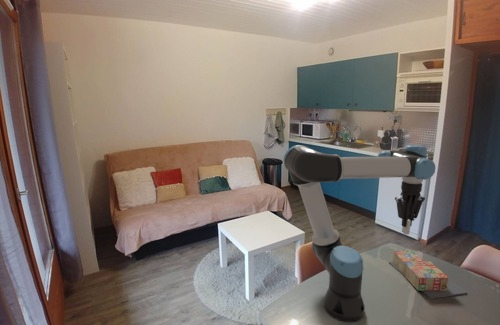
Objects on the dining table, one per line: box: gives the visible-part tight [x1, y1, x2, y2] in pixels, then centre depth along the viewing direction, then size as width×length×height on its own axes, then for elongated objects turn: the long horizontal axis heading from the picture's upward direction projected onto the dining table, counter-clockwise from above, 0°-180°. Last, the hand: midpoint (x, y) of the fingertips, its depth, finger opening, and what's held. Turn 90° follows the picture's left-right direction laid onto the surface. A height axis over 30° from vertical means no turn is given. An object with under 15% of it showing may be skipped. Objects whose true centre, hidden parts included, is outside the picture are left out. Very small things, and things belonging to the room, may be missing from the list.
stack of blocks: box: [392, 250, 450, 292], centre depth 124 cm, size 21×6×12 cm
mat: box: [388, 260, 468, 300], centre depth 124 cm, size 17×26×1 cm, turn 9°
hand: (405, 233), depth 120 cm, fingers closed
